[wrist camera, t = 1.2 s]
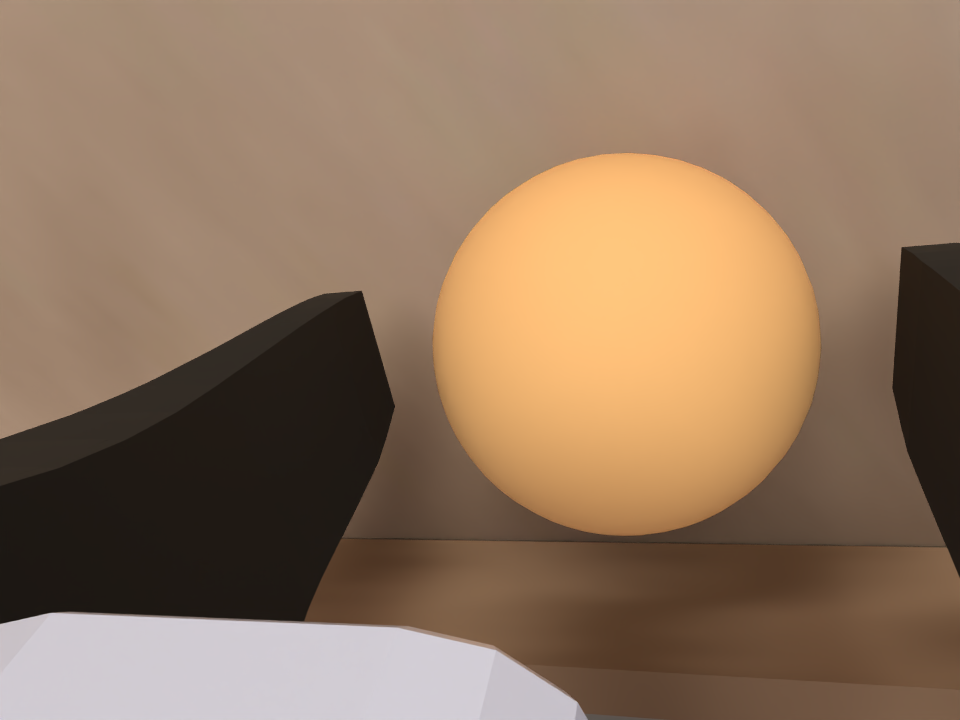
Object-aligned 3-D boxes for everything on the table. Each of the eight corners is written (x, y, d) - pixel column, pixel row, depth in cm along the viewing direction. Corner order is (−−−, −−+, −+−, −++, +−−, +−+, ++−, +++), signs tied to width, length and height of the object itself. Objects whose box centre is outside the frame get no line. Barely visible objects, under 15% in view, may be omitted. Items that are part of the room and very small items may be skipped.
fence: (1381, 553, 13) (1544, 723, 10) (1357, 608, 13) (1505, 781, 11) (176, 536, 19) (98, 639, 17) (195, 574, 20) (122, 679, 17)
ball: (800, 83, 11) (859, 224, 7) (800, 391, 14) (843, 630, 10) (450, 130, 13) (330, 271, 9) (506, 401, 15) (433, 614, 11)
